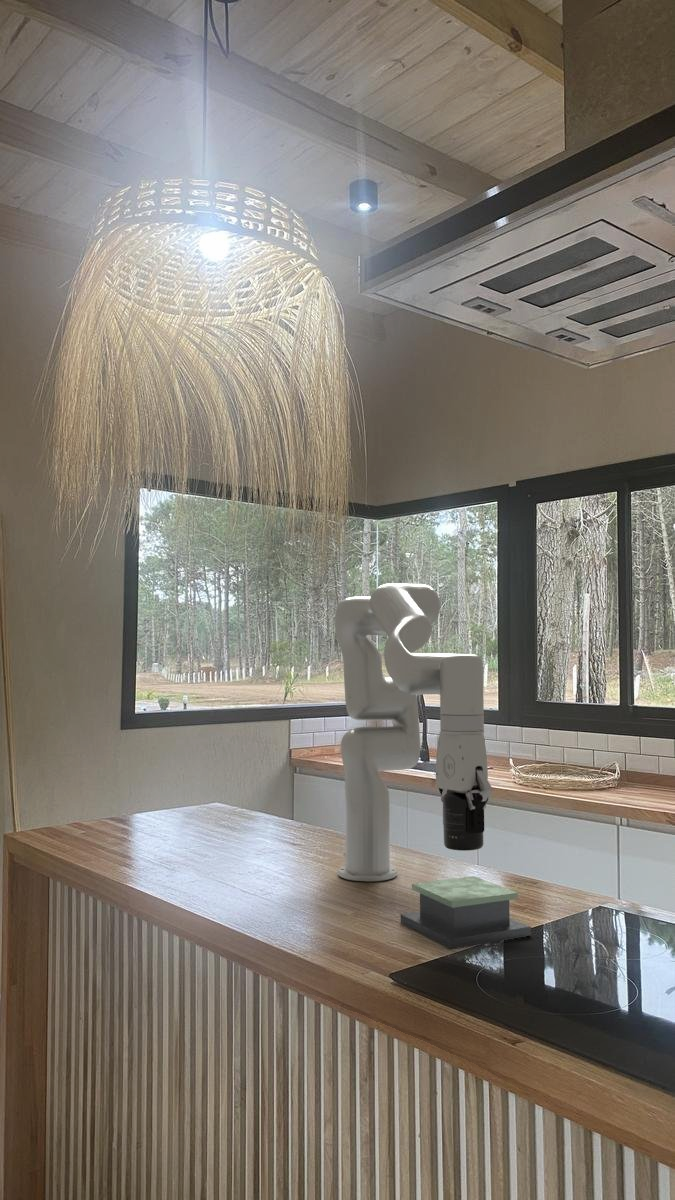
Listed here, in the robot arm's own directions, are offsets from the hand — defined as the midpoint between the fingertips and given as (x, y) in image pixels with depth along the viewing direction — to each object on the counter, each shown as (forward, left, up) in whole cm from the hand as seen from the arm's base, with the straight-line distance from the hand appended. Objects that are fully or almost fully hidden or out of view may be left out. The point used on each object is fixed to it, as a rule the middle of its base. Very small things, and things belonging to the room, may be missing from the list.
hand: (463, 828), depth 156 cm
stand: (0, 0, -17) cm, 17 cm away
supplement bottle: (0, 0, -4) cm, 4 cm away
